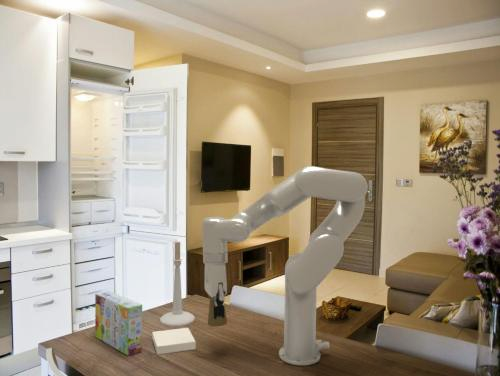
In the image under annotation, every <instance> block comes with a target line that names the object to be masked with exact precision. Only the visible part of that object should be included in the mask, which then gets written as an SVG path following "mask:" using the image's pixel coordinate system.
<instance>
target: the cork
mask: <svg viewBox="0 0 500 376" xmlns="http://www.w3.org/2000/svg"><path fill="white" fill-rule="evenodd" d="M223 292H224V290H223ZM218 295H219V294H216V296H218ZM207 296H208V299H209V305H208V306H209V307H208V316H207V317H208V318H207V325H208V326H210V327H222V326H224V325H225V326H226V325H227V323H228V319H227V313H226V306H225V305H224V318H222V316H221V317H218V316H217V318H216V319H214V306H215V304H214V297H211V296H210V295H209V294H208V293H207ZM217 299H219V298H217Z"/></svg>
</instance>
